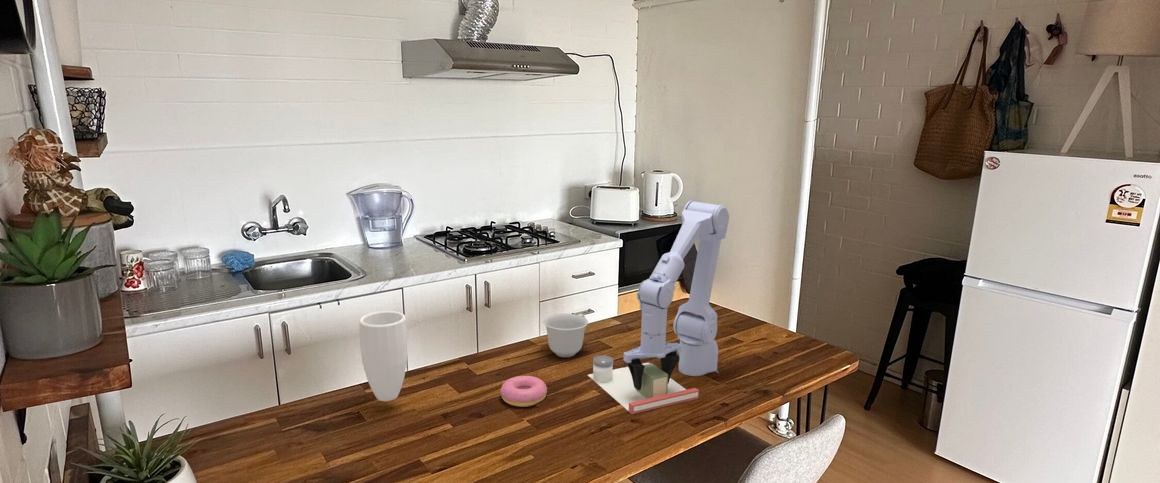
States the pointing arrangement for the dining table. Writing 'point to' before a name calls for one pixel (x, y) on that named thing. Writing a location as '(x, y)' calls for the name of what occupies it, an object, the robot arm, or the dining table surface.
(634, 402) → the shelf board
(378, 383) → the white vase
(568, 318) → the teacup
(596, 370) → the spice jar
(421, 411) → the dining table surface
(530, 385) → the doughnut
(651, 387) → the carton
